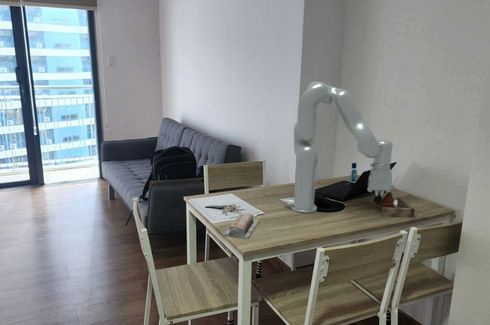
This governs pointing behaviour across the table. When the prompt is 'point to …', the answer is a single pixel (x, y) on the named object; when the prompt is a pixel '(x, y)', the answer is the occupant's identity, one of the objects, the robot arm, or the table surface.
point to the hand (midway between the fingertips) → (377, 203)
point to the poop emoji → (388, 202)
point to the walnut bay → (397, 209)
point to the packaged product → (242, 226)
